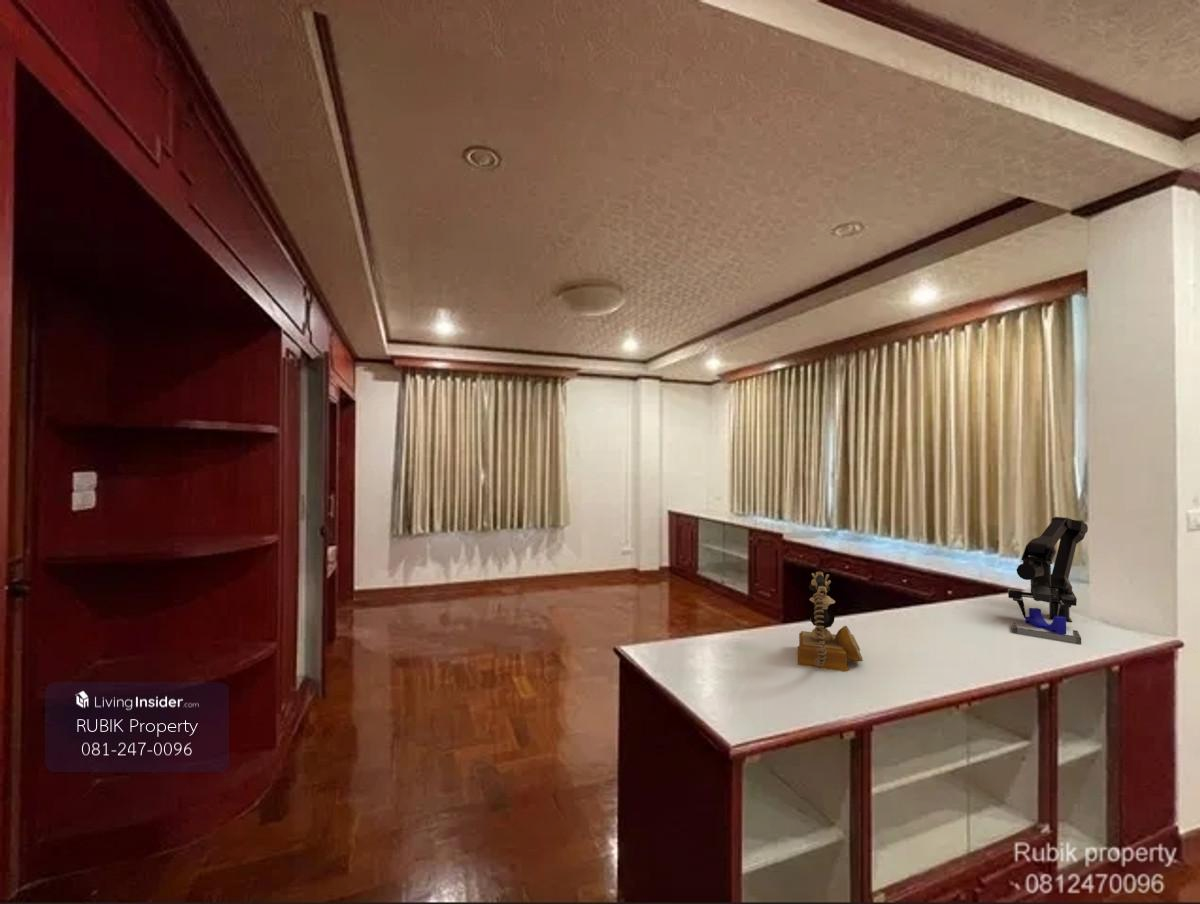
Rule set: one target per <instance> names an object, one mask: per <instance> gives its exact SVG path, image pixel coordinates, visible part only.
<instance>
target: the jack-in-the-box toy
mask: <svg viewBox="0 0 1200 904" xmlns="http://www.w3.org/2000/svg"><path fill="white" fill-rule="evenodd" d="M811 576H812V580H811V582H810V584H809V585H808V588H809V590H810V591H812V592H815V593H813V595H812V597H810V598H809V601H810V602H811V603H813V604H814V607H813V609H812V610H811V611H810V616H809V621H810V622H811V624H812V625H813V626H814V627H815V628H813V629H812V630H811V631H806V630H805V631H803V630H801V631H800V632H799V633H798V634H799V635H798V637H799V638H798V639H799V640H798V644H799V645H798V646H797V665H798V666H804V667H810V666H811V668H812V667H813V668H817V667H818V669H824V668H826V669H825V670H831V669H832V670H833V671H838V670H842V671H841V672H845V671H849V666H848V662H847V660H848V661H850V662H856V663H858V662H863V661H864V659H863V655H862V654H861V649H860V648H861V647H860V645H859V643H858V641H857V639H856V637H855V636H854V634H852V632H851V631H850V629H849V627H848V625H844V626H842V627H840V629H838V630H837V633H836V634H833V633H831V631H830V630H829V629H828V628H831V627H833V624H834V622H835V618H836V617H835V614H834V612H833V610H832V609H831V608H830V607H829V606H830V605H832V604H833V605H834V604H835V603H836V600H834V599H833V598H831V596H829V595H827V593H829V591H830V590H831V587H830V584H831V583H832V581H831V580H830V579H829V580H828V578H829V577H830V574H828V573H827V574H826V575H825V577H824V572H822V571H815V573H814V572H812V573H811Z"/></svg>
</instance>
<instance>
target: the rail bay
mask: <svg viewBox="0 0 1200 904" xmlns="http://www.w3.org/2000/svg"><path fill="white" fill-rule="evenodd" d="M1011 629H1012V633H1013V634H1016V635H1023V636H1027V637H1028V636H1029V637H1034V638H1039V639H1040V638H1041V639H1046V640H1052V641H1059V642H1064V643H1068V644H1074V645H1076V644H1077V645H1082V637H1081V634H1080V633H1079V631H1078V630H1076V629H1075V630H1074V629H1072V634H1071V635H1069V634H1057V633H1056V632H1051V631H1041V630H1037V629H1029V628H1022V627H1018V625H1017V622H1016V621H1011Z"/></svg>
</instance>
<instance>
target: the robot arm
mask: <svg viewBox="0 0 1200 904" xmlns="http://www.w3.org/2000/svg"><path fill="white" fill-rule="evenodd" d="M1088 530H1089V527H1088V524H1087V523H1085V521H1083V520H1077V519H1071V518H1069V517H1066V516H1065V517H1064V516H1063V517H1062V516H1053V517H1051V522H1050V523H1049V524H1048V526H1047V527H1046V528H1045V529H1044V531H1043V532H1042V533H1041V535H1040V536H1038V537H1035V538H1032V539H1031V540H1030V541H1029V542H1028V543H1027V544H1026V545H1025V548H1024V551H1023V553H1022V556H1021V561H1022V563H1021V564H1019V565H1017V568H1016V574H1017V576H1018V577H1019V578H1020V579H1023V580H1026V581H1030V592H1029V591H1028V592H1027V591H1022V588H1014V587H1009V588H1008V589H1007V595H1008V598H1009V599H1012V600H1013V601H1015V602H1016V603H1017V604H1018V606H1019V608H1020V610H1021V613H1022V616H1023V618H1024V619H1025V616H1027V614H1026V610H1025V604H1024V599H1023V598H1029V599H1030V598H1031V599H1033V600H1034V601H1036V602H1043V603H1044V602H1045V603H1048V606H1049V608H1048V612H1049V614H1048V613H1047V615H1046V616H1047V618H1048V619H1049V620H1052V621H1053V617H1065V618H1066V623H1072V622H1073V620H1072V618H1071V617H1070V608H1072V606H1075V607H1077V600H1078V598H1077V596H1076V595H1075V593H1074V592H1073V586H1072V584H1071V581H1070V580H1069V578H1070V573H1071V569H1072V564H1073V560H1074V557H1075V552H1076V549H1077V544H1079V543H1081V541H1083V540H1084V539H1085V536H1086V534H1087V532H1088ZM1059 540H1060V541H1059ZM1058 541H1059V544H1058V548H1057V550H1056V547H1055V546H1056V544H1057V543H1058ZM1056 551H1057V552H1056ZM1054 557H1055V560H1054V565H1053V569H1052V567H1051V566H1052V564H1053V559H1054ZM1051 569H1052V571H1051Z"/></svg>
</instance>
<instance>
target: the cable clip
mask: <svg viewBox="0 0 1200 904" xmlns="http://www.w3.org/2000/svg"><path fill="white" fill-rule="evenodd" d="M1024 623H1025V624H1029V625H1030V626H1032V627H1034V628H1037V629H1044V630H1046V631H1047V632H1050V633H1057V634H1065V635H1067V622H1066V618H1065V617H1053V620H1052V622H1051V624H1049V623H1048V622H1047V621H1046V620H1045V618H1044V617H1043V614H1042V609H1041V608H1038V607H1029V609H1028V615H1026V616H1025V618H1024Z"/></svg>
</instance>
